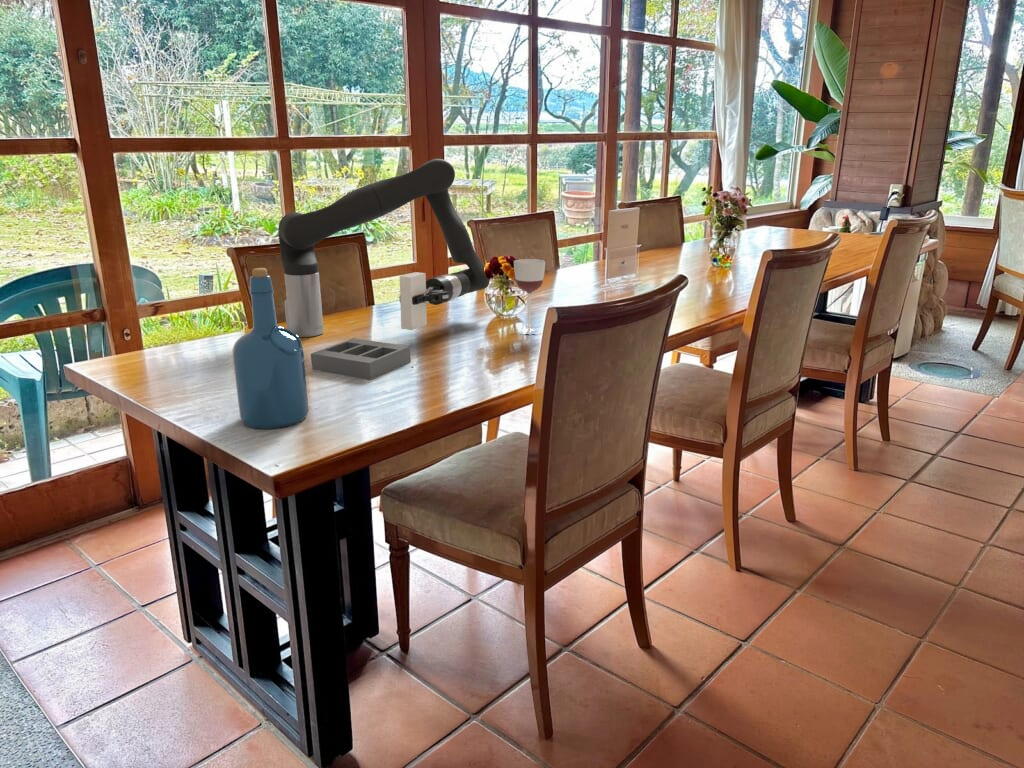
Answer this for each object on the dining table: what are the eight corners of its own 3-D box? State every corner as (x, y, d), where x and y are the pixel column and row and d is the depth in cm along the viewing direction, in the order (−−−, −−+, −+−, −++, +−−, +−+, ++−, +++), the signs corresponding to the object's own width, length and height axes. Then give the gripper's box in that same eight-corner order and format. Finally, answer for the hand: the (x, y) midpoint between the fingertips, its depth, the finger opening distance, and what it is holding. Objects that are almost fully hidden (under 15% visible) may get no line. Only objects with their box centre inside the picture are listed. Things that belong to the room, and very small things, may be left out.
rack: (312, 369, 186) (310, 353, 185) (354, 353, 199) (353, 338, 198) (370, 379, 178) (369, 363, 177) (410, 362, 192) (409, 346, 190)
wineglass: (542, 336, 215) (542, 264, 209) (511, 334, 217) (511, 263, 210) (546, 329, 223) (547, 259, 216) (516, 327, 224) (516, 258, 218)
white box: (401, 328, 205) (399, 276, 201) (416, 323, 211) (414, 272, 207) (411, 330, 204) (410, 277, 200) (426, 324, 210) (425, 273, 205)
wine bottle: (225, 426, 151) (205, 272, 141) (268, 404, 163) (253, 261, 153) (284, 435, 146) (268, 277, 137) (324, 412, 158) (312, 265, 148)
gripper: (421, 273, 219) (384, 283, 205) (464, 278, 213) (429, 288, 198) (421, 299, 222) (385, 311, 207) (464, 305, 215) (430, 317, 201)
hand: (407, 300), depth 203 cm, fingers closed on white box, 3 cm apart
